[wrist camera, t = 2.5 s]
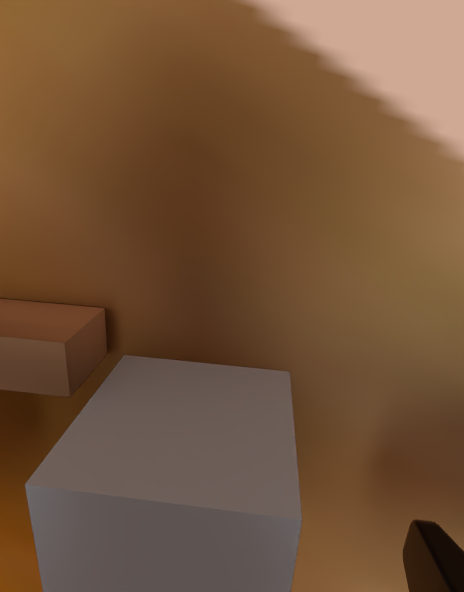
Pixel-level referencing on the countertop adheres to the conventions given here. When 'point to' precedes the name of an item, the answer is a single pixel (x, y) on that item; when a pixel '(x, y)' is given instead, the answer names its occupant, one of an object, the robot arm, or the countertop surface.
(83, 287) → the countertop surface
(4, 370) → the tray frame
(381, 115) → the countertop surface
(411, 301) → the countertop surface
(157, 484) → the block
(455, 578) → the robot arm
